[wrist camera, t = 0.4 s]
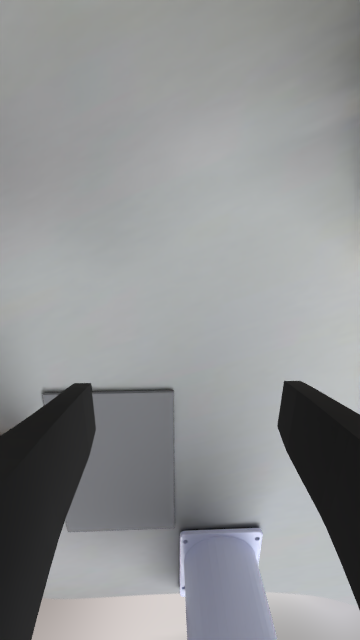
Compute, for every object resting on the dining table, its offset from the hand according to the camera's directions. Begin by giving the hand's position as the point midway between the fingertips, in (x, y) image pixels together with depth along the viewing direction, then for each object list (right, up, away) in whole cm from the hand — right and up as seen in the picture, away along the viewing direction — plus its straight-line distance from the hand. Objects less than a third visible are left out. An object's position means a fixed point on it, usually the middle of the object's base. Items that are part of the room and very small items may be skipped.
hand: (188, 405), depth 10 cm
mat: (-6, -9, +14) cm, 18 cm away
